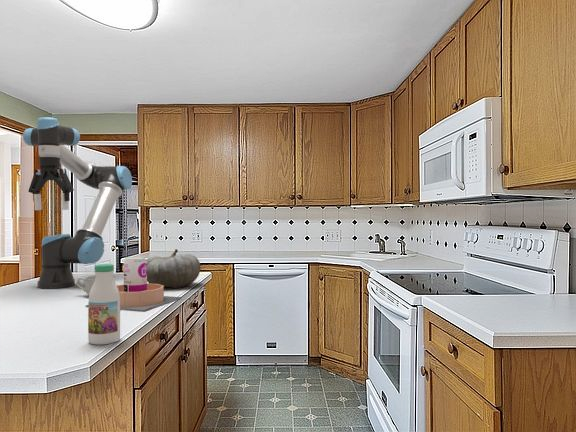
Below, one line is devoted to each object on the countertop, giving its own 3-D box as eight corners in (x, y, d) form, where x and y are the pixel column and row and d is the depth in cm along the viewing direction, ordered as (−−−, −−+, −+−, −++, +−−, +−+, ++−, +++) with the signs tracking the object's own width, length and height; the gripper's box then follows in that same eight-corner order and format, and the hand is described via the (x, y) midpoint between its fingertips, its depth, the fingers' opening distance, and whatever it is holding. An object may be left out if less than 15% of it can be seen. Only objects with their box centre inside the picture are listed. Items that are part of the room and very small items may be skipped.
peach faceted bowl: (128, 295, 183) (128, 281, 183) (181, 298, 176) (181, 284, 176) (85, 307, 160) (85, 291, 160) (144, 311, 153) (144, 295, 153)
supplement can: (151, 297, 170) (151, 257, 170) (137, 301, 163) (137, 259, 162) (133, 295, 173) (133, 256, 173) (118, 299, 165) (118, 258, 165)
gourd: (195, 285, 191) (189, 244, 193) (137, 295, 191) (131, 254, 193) (207, 282, 216) (202, 246, 217) (156, 291, 216) (151, 255, 218)
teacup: (118, 293, 186) (118, 274, 186) (105, 298, 176) (104, 278, 176) (86, 293, 188) (85, 273, 188) (70, 298, 177) (70, 277, 177)
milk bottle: (94, 337, 122) (94, 263, 121) (123, 336, 122) (123, 262, 122) (83, 345, 114) (83, 266, 114) (115, 345, 115) (115, 266, 114)
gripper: (16, 157, 181) (19, 210, 182) (67, 154, 174) (70, 209, 175) (32, 158, 189) (34, 209, 190) (81, 156, 181) (84, 209, 182)
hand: (51, 210), depth 182 cm, fingers open, 13 cm apart
